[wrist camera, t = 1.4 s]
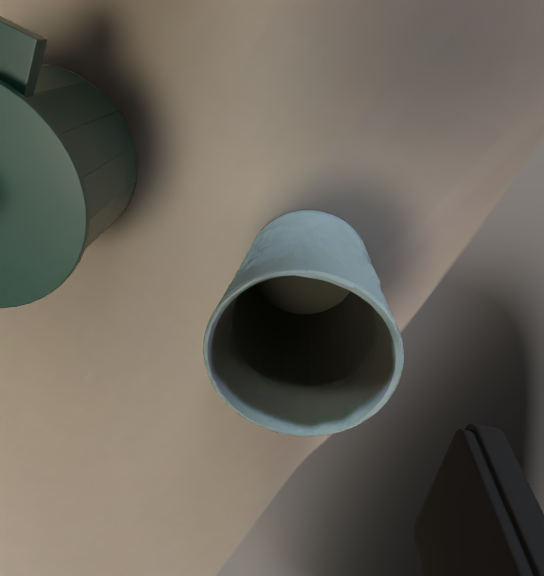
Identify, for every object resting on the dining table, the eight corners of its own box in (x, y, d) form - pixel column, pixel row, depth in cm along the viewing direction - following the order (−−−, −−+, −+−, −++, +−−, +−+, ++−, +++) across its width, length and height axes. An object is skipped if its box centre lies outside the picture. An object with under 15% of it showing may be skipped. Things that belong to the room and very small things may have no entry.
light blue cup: (393, 304, 37) (426, 411, 27) (265, 344, 40) (249, 457, 29) (348, 175, 34) (367, 240, 23) (210, 227, 36) (168, 309, 25)
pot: (-52, 226, 37) (-159, 282, 29) (-5, -18, 30) (-130, -40, 21) (98, 291, 39) (38, 362, 30) (175, 73, 32) (126, 87, 23)
